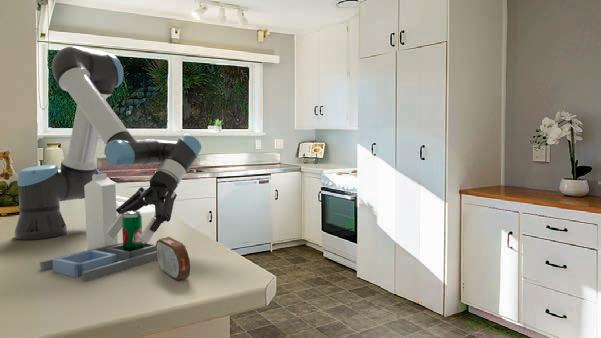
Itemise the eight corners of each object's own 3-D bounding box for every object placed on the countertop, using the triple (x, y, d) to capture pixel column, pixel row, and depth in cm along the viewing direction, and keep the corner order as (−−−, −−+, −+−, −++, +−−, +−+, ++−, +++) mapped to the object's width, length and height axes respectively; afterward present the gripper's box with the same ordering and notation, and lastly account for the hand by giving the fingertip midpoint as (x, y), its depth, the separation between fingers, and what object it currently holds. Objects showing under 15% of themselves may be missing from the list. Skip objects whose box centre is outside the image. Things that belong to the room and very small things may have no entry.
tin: (192, 282, 97) (190, 244, 96) (178, 285, 95) (177, 247, 94) (167, 266, 109) (166, 233, 108) (154, 269, 107) (153, 235, 106)
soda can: (136, 258, 117) (134, 214, 116) (119, 257, 118) (117, 213, 117) (146, 253, 122) (145, 211, 121) (130, 252, 123) (128, 210, 122)
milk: (87, 250, 126) (82, 174, 125) (101, 245, 132) (97, 173, 131) (105, 251, 125) (101, 174, 123) (118, 246, 131) (114, 173, 129)
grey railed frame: (40, 269, 108) (39, 257, 107) (130, 246, 130) (129, 236, 130) (85, 281, 98) (84, 268, 98) (173, 254, 120) (173, 243, 120)
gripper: (205, 188, 125) (166, 251, 114) (146, 184, 138) (106, 240, 127) (191, 170, 121) (149, 235, 109) (131, 168, 133) (88, 225, 122)
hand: (126, 238), depth 118 cm, fingers open, 13 cm apart
